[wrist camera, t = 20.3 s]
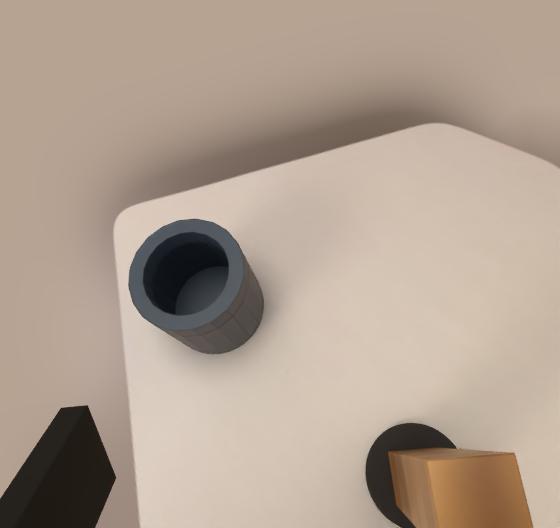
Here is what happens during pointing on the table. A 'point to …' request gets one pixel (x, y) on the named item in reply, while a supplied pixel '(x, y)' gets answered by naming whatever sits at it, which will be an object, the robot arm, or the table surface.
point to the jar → (197, 286)
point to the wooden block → (459, 488)
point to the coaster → (380, 468)
